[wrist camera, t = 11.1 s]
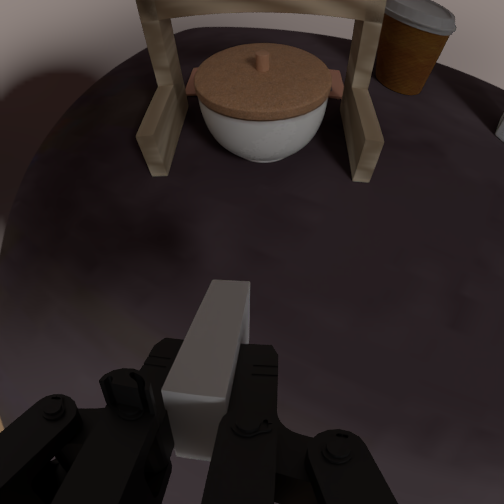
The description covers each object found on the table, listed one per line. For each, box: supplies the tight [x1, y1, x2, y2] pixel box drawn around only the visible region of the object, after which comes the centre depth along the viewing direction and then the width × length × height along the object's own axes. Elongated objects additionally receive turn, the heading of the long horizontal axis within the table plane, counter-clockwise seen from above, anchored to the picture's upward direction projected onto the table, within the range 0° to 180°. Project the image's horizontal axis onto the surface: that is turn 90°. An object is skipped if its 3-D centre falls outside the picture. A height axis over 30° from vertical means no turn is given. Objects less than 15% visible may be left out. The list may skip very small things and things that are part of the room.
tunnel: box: [136, 0, 387, 182], centre depth 23 cm, size 19×10×14 cm, turn 86°
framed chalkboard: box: [185, 68, 344, 99], centre depth 34 cm, size 18×6×1 cm, turn 86°
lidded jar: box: [194, 43, 332, 163], centre depth 25 cm, size 11×11×9 cm
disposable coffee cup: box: [376, 0, 456, 95], centre depth 29 cm, size 10×10×12 cm
